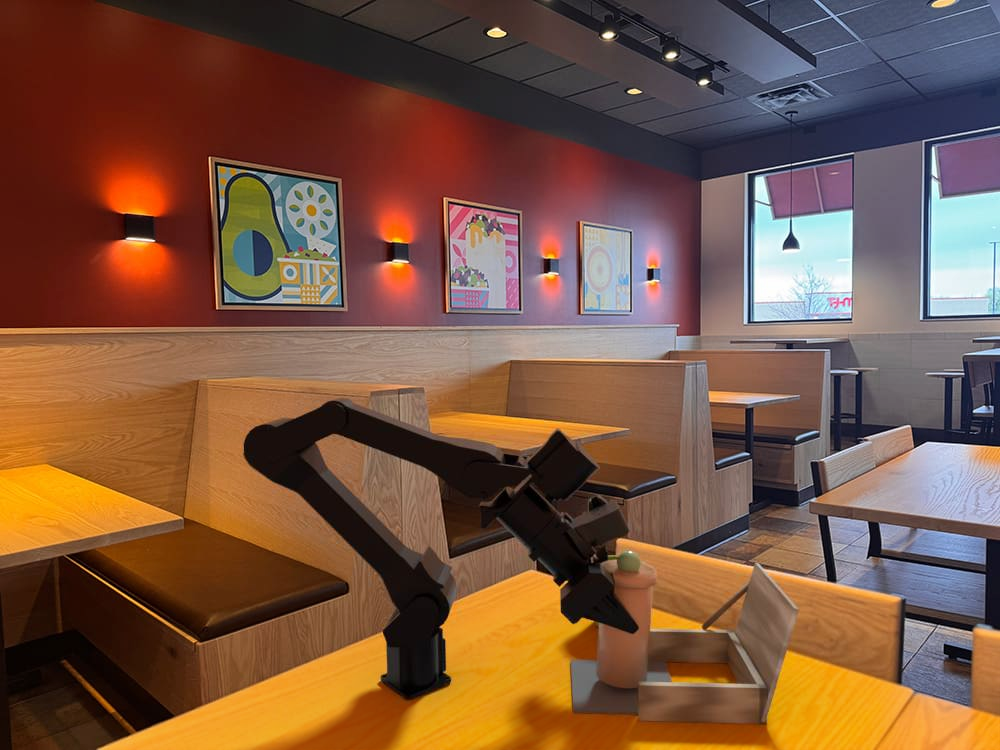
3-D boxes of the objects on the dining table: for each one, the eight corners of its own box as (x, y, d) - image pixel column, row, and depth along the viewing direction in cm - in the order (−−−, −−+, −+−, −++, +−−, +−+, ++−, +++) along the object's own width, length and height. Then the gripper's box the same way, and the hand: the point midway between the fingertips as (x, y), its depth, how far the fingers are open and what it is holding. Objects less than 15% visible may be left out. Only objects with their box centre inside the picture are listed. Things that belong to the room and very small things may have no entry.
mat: (573, 712, 78) (573, 710, 78) (570, 661, 90) (570, 659, 90) (682, 715, 78) (682, 712, 78) (665, 663, 90) (665, 661, 89)
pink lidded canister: (624, 696, 79) (633, 564, 78) (580, 671, 84) (588, 547, 83) (661, 679, 84) (670, 554, 82) (618, 656, 89) (625, 539, 88)
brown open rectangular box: (639, 720, 77) (638, 606, 76) (624, 655, 92) (624, 559, 91) (797, 724, 75) (798, 608, 75) (756, 658, 91) (757, 560, 90)
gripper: (592, 499, 73) (698, 604, 73) (584, 464, 92) (669, 548, 92) (517, 571, 75) (622, 675, 74) (524, 523, 93) (608, 606, 93)
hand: (633, 619), depth 83 cm, fingers closed on pink lidded canister, 6 cm apart
